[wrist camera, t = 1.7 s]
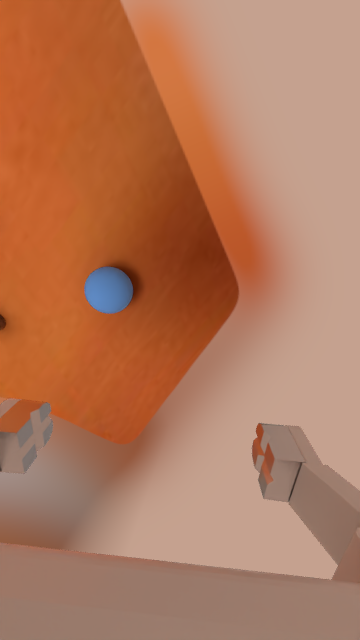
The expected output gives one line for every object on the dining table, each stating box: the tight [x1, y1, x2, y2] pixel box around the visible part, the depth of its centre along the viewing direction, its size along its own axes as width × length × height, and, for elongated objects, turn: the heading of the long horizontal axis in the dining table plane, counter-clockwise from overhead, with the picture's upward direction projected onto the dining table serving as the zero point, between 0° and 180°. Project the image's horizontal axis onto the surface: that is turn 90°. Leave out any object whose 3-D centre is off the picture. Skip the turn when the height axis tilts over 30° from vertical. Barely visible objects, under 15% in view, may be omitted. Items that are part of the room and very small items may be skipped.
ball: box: [84, 267, 133, 313], centre depth 25 cm, size 5×5×5 cm
